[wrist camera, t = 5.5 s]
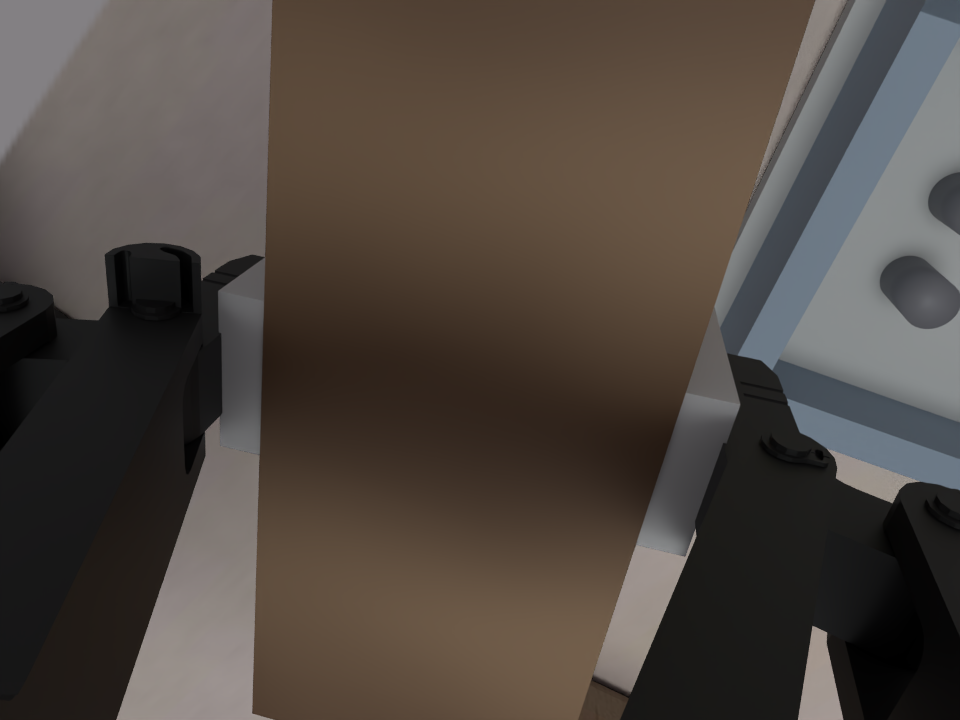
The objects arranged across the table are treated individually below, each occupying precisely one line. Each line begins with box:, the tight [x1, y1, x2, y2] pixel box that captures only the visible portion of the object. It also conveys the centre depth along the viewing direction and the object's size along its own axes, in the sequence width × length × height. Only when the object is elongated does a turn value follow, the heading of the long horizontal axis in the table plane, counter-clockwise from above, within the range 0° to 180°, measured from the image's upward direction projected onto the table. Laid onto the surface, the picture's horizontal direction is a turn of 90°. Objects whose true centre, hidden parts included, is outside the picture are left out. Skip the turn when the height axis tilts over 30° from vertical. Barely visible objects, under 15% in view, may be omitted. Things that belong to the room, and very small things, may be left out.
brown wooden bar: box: [252, 0, 815, 720], centre depth 14 cm, size 15×6×7 cm, turn 171°
